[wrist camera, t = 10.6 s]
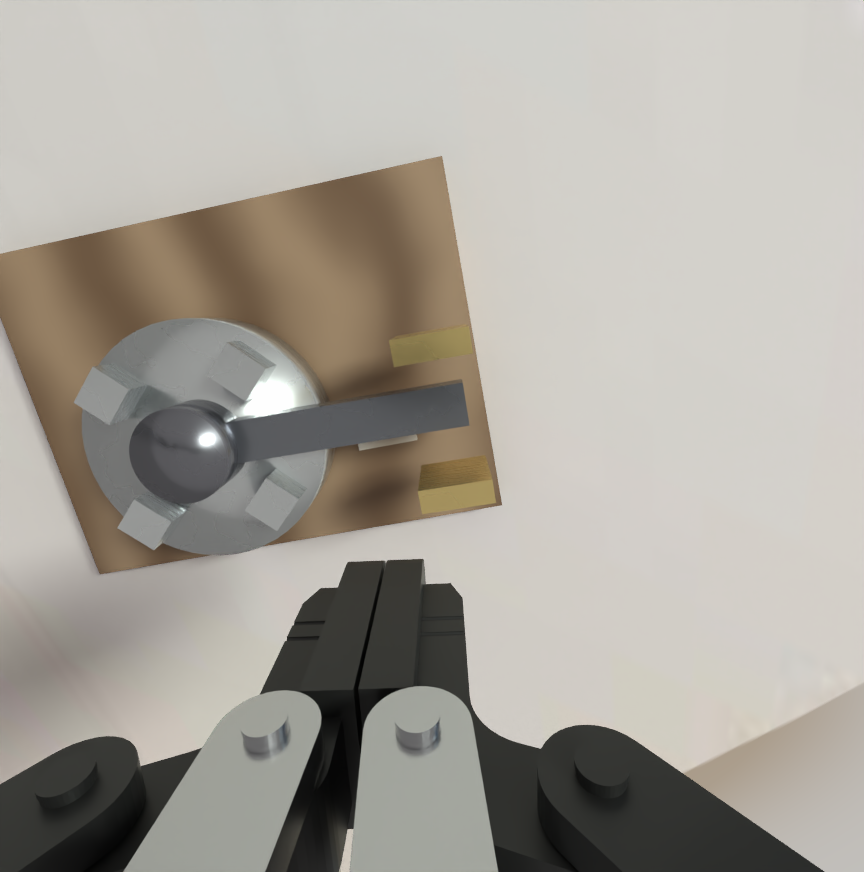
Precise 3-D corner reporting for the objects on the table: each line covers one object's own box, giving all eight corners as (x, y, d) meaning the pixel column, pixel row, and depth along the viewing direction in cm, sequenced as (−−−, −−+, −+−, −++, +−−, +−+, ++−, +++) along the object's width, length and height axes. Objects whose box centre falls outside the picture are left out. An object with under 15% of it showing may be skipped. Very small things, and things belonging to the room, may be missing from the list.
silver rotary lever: (83, 339, 26) (-50, 349, 19) (454, 271, 25) (457, 255, 18) (152, 548, 29) (59, 624, 22) (489, 496, 28) (504, 559, 21)
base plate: (115, 561, 31) (97, 575, 29) (2, 261, 27) (-26, 258, 25) (499, 495, 29) (502, 506, 28) (442, 164, 25) (442, 154, 24)
